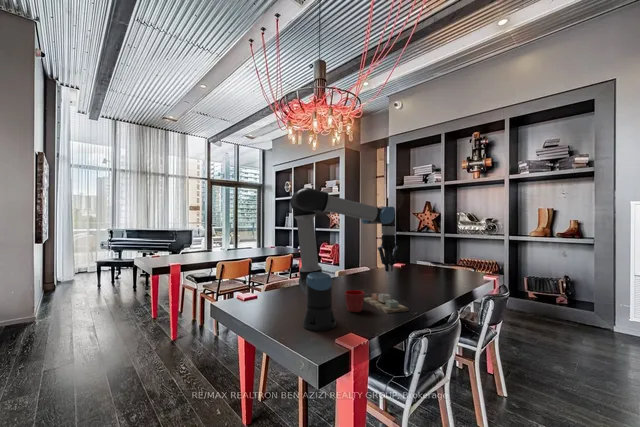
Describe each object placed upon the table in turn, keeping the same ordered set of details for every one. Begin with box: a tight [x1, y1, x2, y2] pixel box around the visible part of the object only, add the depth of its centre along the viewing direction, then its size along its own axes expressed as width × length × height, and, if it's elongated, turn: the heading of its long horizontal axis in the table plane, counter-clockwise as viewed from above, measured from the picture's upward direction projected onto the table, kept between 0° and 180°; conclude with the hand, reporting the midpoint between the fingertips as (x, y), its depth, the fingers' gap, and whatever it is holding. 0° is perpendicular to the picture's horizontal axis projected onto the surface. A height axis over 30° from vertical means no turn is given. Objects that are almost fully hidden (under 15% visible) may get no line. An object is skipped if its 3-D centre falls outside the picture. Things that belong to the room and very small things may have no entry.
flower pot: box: [344, 289, 365, 313], centre depth 155 cm, size 11×11×10 cm
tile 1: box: [378, 293, 392, 303], centre depth 164 cm, size 5×5×4 cm
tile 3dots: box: [371, 292, 381, 301], centre depth 171 cm, size 5×5×4 cm
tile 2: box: [385, 299, 399, 308], centre depth 156 cm, size 5×5×4 cm
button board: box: [363, 296, 409, 314], centre depth 164 cm, size 27×13×2 cm, turn 17°
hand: (388, 277), depth 157 cm, fingers closed
